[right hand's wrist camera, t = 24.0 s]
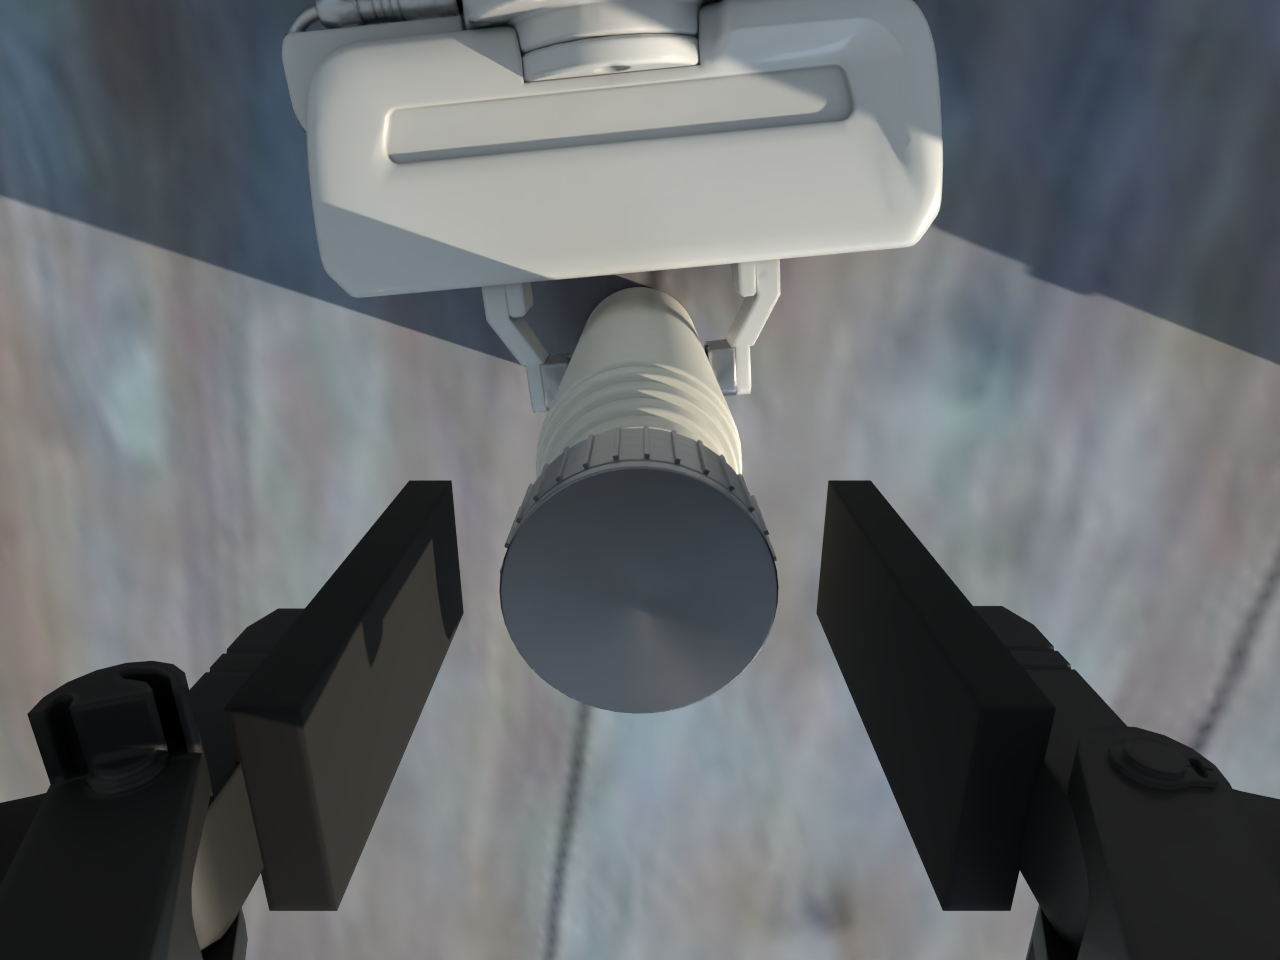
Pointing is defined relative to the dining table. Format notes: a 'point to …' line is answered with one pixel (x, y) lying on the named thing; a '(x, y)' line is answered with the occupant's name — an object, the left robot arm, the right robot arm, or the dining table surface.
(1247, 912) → the right robot arm
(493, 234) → the left robot arm
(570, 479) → the cap
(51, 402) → the dining table surface
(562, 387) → the bottle
